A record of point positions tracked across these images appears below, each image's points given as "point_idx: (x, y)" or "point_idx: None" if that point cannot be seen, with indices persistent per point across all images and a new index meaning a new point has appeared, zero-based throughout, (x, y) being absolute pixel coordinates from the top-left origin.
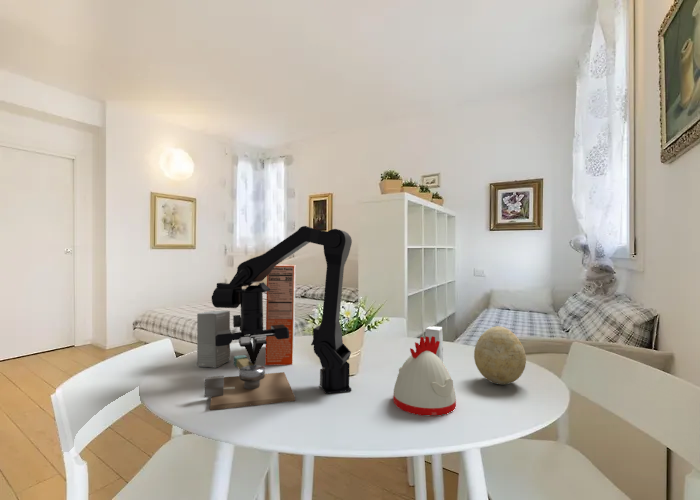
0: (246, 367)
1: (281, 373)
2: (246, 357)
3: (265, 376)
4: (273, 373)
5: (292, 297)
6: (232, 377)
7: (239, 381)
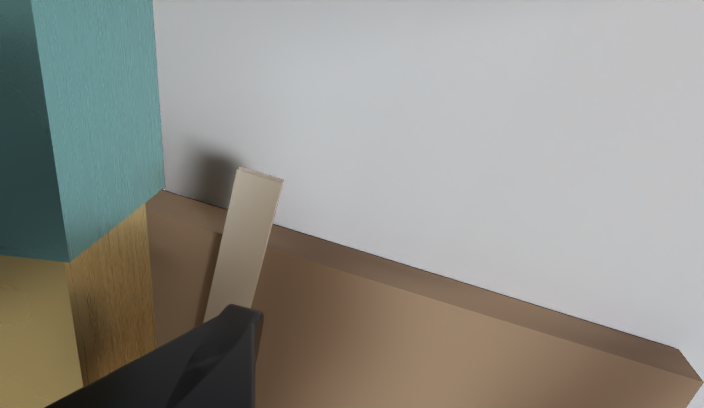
0: None
1: (637, 405)
2: (62, 254)
3: (400, 394)
4: (548, 350)
5: None
6: None
7: None
